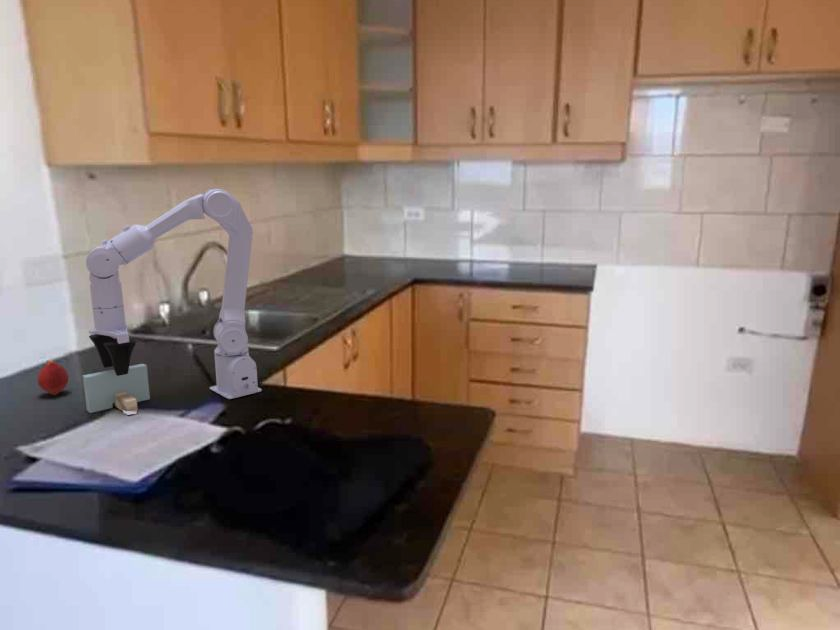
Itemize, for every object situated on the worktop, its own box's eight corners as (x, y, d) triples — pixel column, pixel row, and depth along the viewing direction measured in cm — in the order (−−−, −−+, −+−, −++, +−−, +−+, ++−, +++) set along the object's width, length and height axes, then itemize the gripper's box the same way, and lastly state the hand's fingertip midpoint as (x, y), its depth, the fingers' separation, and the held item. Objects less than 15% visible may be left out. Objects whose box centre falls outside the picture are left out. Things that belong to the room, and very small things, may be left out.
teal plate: (149, 399, 138) (146, 365, 136) (89, 413, 130) (85, 377, 128) (146, 396, 139) (143, 363, 137) (86, 410, 131) (82, 375, 129)
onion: (63, 388, 144) (59, 354, 143) (74, 394, 141) (70, 359, 139) (35, 395, 140) (30, 360, 138) (46, 401, 136) (41, 365, 135)
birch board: (137, 413, 129) (136, 399, 129) (127, 416, 128) (126, 402, 127) (110, 394, 141) (109, 381, 140) (101, 396, 139) (99, 383, 139)
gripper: (75, 303, 132) (83, 366, 135) (98, 314, 122) (107, 382, 125) (111, 299, 137) (118, 360, 140) (136, 309, 127) (143, 374, 129)
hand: (115, 370), depth 133 cm, fingers open, 7 cm apart
